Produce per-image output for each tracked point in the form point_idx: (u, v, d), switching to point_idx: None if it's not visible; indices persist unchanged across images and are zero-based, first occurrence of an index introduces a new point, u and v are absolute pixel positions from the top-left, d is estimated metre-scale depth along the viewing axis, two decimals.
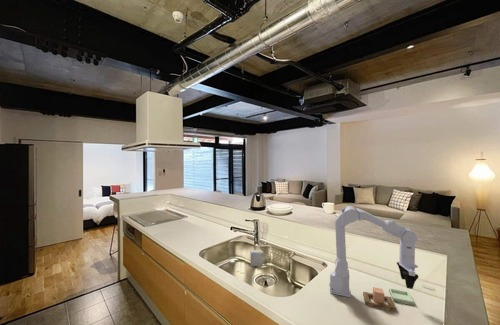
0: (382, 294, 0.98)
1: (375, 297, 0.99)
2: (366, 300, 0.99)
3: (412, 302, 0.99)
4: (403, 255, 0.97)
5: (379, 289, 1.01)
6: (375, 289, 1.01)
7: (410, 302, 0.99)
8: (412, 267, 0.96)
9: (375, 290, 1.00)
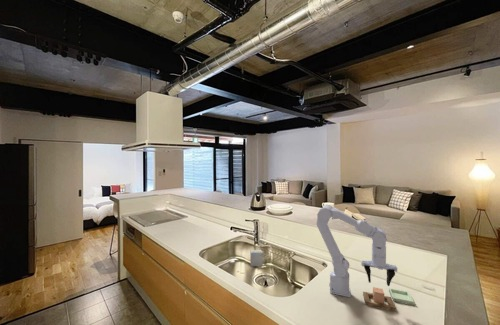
0: (382, 294, 0.98)
1: (375, 297, 0.99)
2: (366, 300, 0.99)
3: (412, 302, 0.99)
4: None
5: (379, 289, 1.01)
6: (375, 289, 1.01)
7: (410, 302, 0.99)
8: (372, 264, 1.00)
9: (375, 290, 1.00)
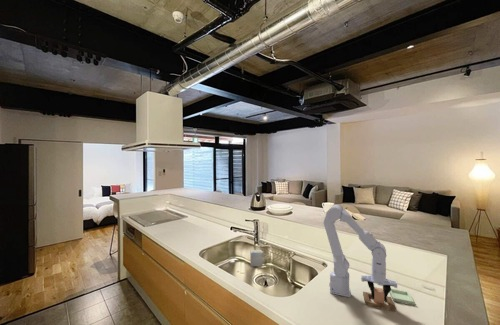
0: (382, 294, 0.98)
1: (375, 297, 0.99)
2: (366, 300, 0.99)
3: (412, 302, 0.99)
4: None
5: (379, 289, 1.01)
6: (375, 289, 1.01)
7: (410, 302, 0.99)
8: (372, 280, 1.00)
9: (375, 290, 1.00)
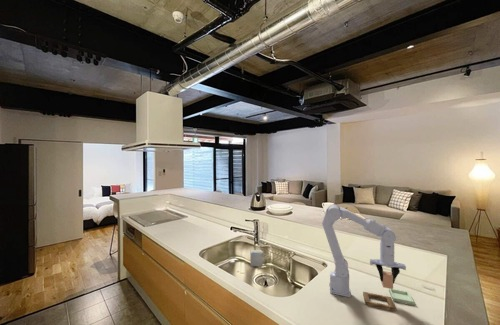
0: (391, 277, 0.99)
1: (384, 280, 1.00)
2: (366, 300, 0.99)
3: (412, 302, 0.99)
4: None
5: (388, 272, 1.02)
6: (384, 272, 1.02)
7: (410, 302, 0.99)
8: (381, 262, 1.01)
9: (384, 273, 1.01)
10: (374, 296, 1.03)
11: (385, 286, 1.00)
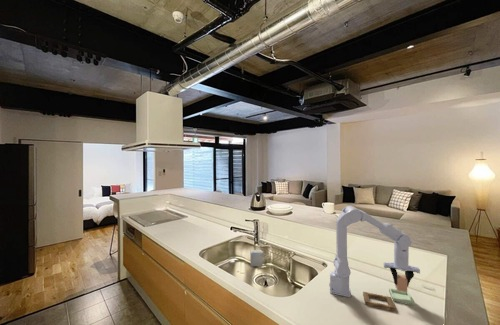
0: (405, 280, 1.01)
1: (398, 283, 1.02)
2: (366, 300, 0.99)
3: (412, 302, 0.99)
4: None
5: (402, 275, 1.04)
6: (398, 275, 1.04)
7: (410, 302, 0.99)
8: (395, 266, 1.03)
9: (398, 276, 1.03)
10: (374, 296, 1.03)
11: (399, 289, 1.02)
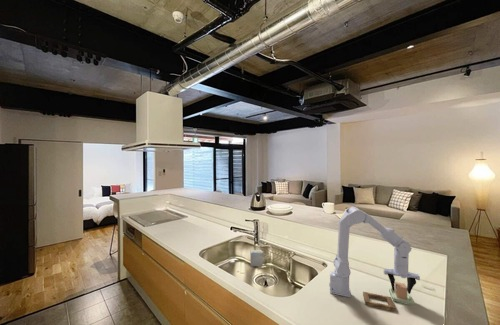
0: (405, 289, 1.01)
1: (398, 291, 1.02)
2: (366, 300, 0.99)
3: (412, 302, 0.99)
4: None
5: (401, 284, 1.04)
6: (397, 284, 1.04)
7: (410, 302, 0.99)
8: (395, 273, 1.03)
9: (398, 285, 1.03)
10: (374, 296, 1.03)
11: (399, 297, 1.02)
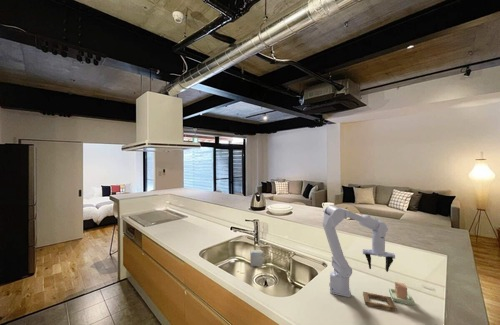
0: (405, 289, 1.01)
1: (398, 291, 1.02)
2: (366, 300, 0.99)
3: (412, 302, 0.99)
4: None
5: (401, 284, 1.04)
6: (397, 284, 1.04)
7: (410, 302, 0.99)
8: (373, 252, 1.10)
9: (398, 285, 1.03)
10: (374, 296, 1.03)
11: (399, 297, 1.02)
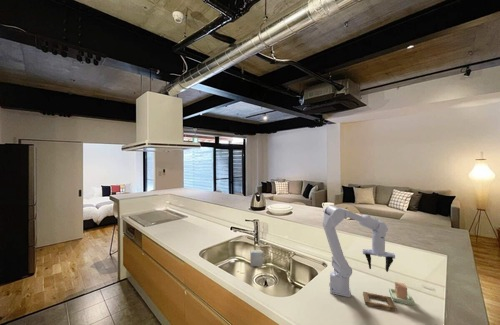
0: (405, 289, 1.01)
1: (398, 291, 1.02)
2: (366, 300, 0.99)
3: (412, 302, 0.99)
4: None
5: (401, 284, 1.04)
6: (397, 284, 1.04)
7: (410, 302, 0.99)
8: (373, 252, 1.10)
9: (398, 285, 1.03)
10: (374, 296, 1.03)
11: (399, 297, 1.02)
